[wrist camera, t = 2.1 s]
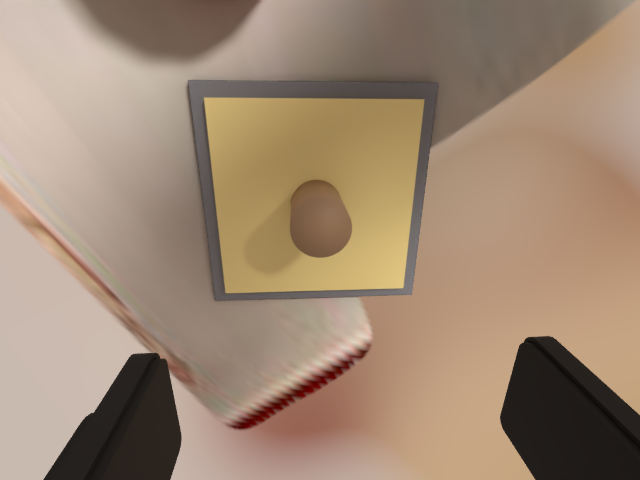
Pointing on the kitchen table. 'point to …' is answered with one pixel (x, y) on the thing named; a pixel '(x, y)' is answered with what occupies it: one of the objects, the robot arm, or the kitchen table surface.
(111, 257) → the kitchen table surface
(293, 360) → the kitchen table surface
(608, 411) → the robot arm
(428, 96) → the mat
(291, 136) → the sheet
